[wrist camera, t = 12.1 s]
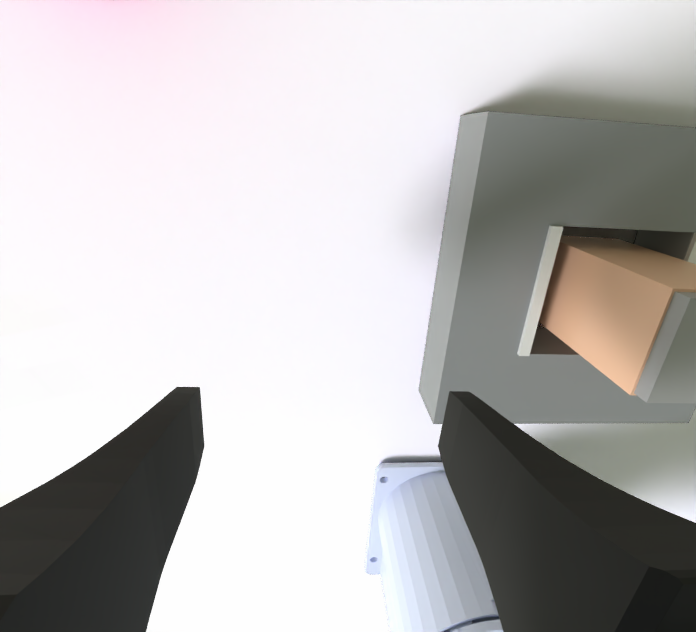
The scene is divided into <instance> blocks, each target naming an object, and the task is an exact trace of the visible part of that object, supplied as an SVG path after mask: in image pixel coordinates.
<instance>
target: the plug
mask: <svg viewBox="0 0 696 632" xmlns="http://www.w3.org/2000/svg"><path fill="white" fill-rule="evenodd" d="M539 323H541V324H542V325H543V326H544V327H545V328H547V329H548V330H549V331H550V332H552V333H553V334H554V335H555V336H557V337H558V338H559V339H560V340H562V341H563V342H564V343H565V344H567V345H568V346H569V347H570V348H572V349H573V350H574V351H575V352H577V353H578V354H579V355H580V356H582V357H583V358H584V359H585V360H587V361H588V362H589V363H590V364H592V365H593V366H594V367H595V368H597V369H598V370H599V371H600V372H602V373H603V374H604V375H605V376H607V377H608V378H609V379H610V380H612V381H613V382H614V383H615V384H617V385H618V386H619V387H620V388H622V389H623V390H624V391H625V392H627V393H628V394H629V395H637V396H638V397H640V398H641V399H642V400H643V401H645V402H646V403H696V264H694V263H691V262H687V261H684V260H681V259H678V258H675V257H672V256H669V255H666V254H663V253H660V252H657V251H654V250H651V249H648V248H645V247H642V246H638V245H635V244H632V243H629V242H626V241H623V240H620V239H617V238H599V237H581V236H563V235H561V239H560V242H559V246H558V250H557V254H556V258H555V261H554V265H553V269H552V273H551V276H550V280H549V284H548V288H547V291H546V295H545V299H544V303H543V306H542V310H541V314H540V318H539Z"/></svg>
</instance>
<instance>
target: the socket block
mask: <svg viewBox="0 0 696 632" xmlns="http://www.w3.org/2000/svg"><path fill="white" fill-rule="evenodd" d="M562 226H571V227H591V228H611V229H632V230H638V233H637V236H636V239H635V242H634V244H635V245H638V246H642V247H645V248H648V249H651V250H654V251H657V252H660V253H663V254H666V255H669V256H672V257H675V258H678V259H681V260H684V261H687V262H691V263H694V264H696V128H694V127H681V126H669V125H656V124H643V123H631V122H618V121H605V120H593V119H580V118H567V117H555V116H542V115H529V114H517V113H504V112H491V111H487V112H480V113H473V114H466V115H461V116H460V123H459V129H458V136H457V143H456V149H455V156H454V162H453V169H452V175H451V182H450V188H449V195H448V201H447V208H446V214H445V221H444V228H443V234H442V241H441V247H440V254H439V260H438V267H437V273H436V280H435V286H434V293H433V300H432V306H431V313H430V319H429V326H428V332H427V339H426V345H425V352H424V358H423V365H422V372H421V378H420V385H419V392H420V394H421V397H422V399H423V401H424V404H425V406H426V408H427V411H428V413H429V415H430V417H431V420H432V422H433V424H443V420H444V415H445V410H446V405H447V400H448V395H449V391H469V392H471V393H472V394H474V395H475V396H477V397H478V398H479V399H481V400H482V401H484V402H485V403H486V404H488V405H489V406H490V407H492V408H493V409H494V410H496V411H497V412H498V413H500V414H501V415H502V416H503V417H505V418H506V419H507V420H509V421H510V422H511V423H513V424H531V423H689V421H690V419H691V417H692V414H693V412H694V410H695V408H696V403H646V402H645V401H643V400H642V399H641V398H640V397H638V396H637V395H629V394H628V393H627V392H625V391H624V390H623V389H622V388H620V387H619V386H618V385H617V384H615V383H614V382H613V381H612V380H610V379H609V378H608V377H607V376H605V375H604V374H603V373H602V372H600V371H599V370H598V369H597V368H595V367H594V366H593V365H592V364H590V363H589V362H588V361H587V360H585V359H584V358H583V357H582V356H580V355H579V354H578V353H577V352H575V351H574V350H573V349H572V348H570V347H569V346H568V345H567V344H565V343H564V342H563V341H562V340H560V339H559V338H558V337H557V336H555V335H554V334H553V333H552V332H550V331H549V330H548V329H547V328H537V325H538V322H539V318H540V314H541V310H542V306H543V303H544V299H545V295H546V291H547V288H548V284H549V280H550V276H551V273H552V269H553V265H554V261H555V258H556V254H557V250H558V246H559V242H560V239H561V235H562V231H563V227H562Z"/></svg>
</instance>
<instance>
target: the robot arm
mask: <svg viewBox="0 0 696 632" xmlns="http://www.w3.org/2000/svg"><path fill="white" fill-rule="evenodd" d="M438 447H439V451H440V455H441V459H442V462H414V463H381V464H379V465H378V466H377V467H376V471H375V479H374V488H373V497H372V505H371V514H370V523H369V531H368V540H367V549H366V557H365V572H366V573H368V574H380V576H381V582H382V588H383V594H384V600H385V607H386V613H387V619H388V625H389V631H390V632H696V523H694V522H692V521H689V520H687V519H684V518H682V517H680V516H677V515H675V514H672V513H670V512H668V511H665V510H663V509H660V508H658V507H656V506H654V505H651V504H649V503H647V502H645V501H643V500H640V499H638V498H636V497H634V496H632V495H630V494H628V493H626V492H624V491H622V490H620V489H618V488H616V487H614V486H612V485H610V484H608V483H606V482H604V481H602V480H600V479H598V478H597V477H595V476H593V475H591V474H590V473H588V472H586V471H584V470H583V469H581V468H579V467H577V466H576V465H574V464H572V463H570V462H569V461H567V460H566V459H564V458H562V457H561V456H559V455H557V454H556V453H554V452H553V451H551V450H550V449H548V448H547V447H545V446H544V445H542V444H541V443H539V442H538V441H536V440H535V439H534V438H532V437H531V436H529V435H528V434H527V433H525V432H524V431H522V430H521V429H520V428H518V427H517V426H516V425H514V424H513V423H511V422H510V421H509V420H507V419H506V418H505V417H503V416H502V415H501V414H500V413H498V412H497V411H496V410H494V409H493V408H492V407H490V406H489V405H488V404H486V403H485V402H484V401H482V400H481V399H479V398H478V397H477V396H475V395H474V394H472V393H471V392H469V391H449V395H448V400H447V405H446V410H445V415H444V420H443V425H442V430H441V435H440V439H439V444H438ZM203 449H204V437H203V424H202V411H201V397H200V387H177V388H175V389H174V390H173V391H172V392H170V393H169V394H168V395H167V396H166V397H164V398H163V399H162V400H161V401H160V402H158V403H157V404H156V405H155V406H154V407H152V408H151V409H150V410H149V411H148V412H146V413H145V414H144V415H143V416H142V417H140V418H139V419H138V420H137V421H135V422H134V423H133V424H132V425H130V426H129V427H128V428H127V429H125V430H124V431H123V432H121V433H120V434H119V435H117V436H116V437H115V438H113V439H112V440H110V441H109V442H108V443H106V444H105V445H104V446H102V447H101V448H100V449H98V450H97V451H96V452H94V453H93V454H91V455H90V456H88V457H87V458H85V459H84V460H82V461H81V462H79V463H78V464H76V465H75V466H73V467H71V468H70V469H68V470H66V471H65V472H63V473H62V474H60V475H58V476H57V477H55V478H53V479H52V480H50V481H48V482H47V483H45V484H43V485H41V486H39V487H38V488H36V489H34V490H32V491H30V492H28V493H26V494H25V495H23V496H21V497H19V498H17V499H15V500H13V501H12V502H10V503H8V504H6V505H4V506H2V507H0V632H146V629H147V625H148V621H149V617H150V613H151V610H152V606H153V602H154V599H155V595H156V591H157V588H158V584H159V580H160V577H161V574H162V571H163V568H164V565H165V562H166V559H167V556H168V553H169V551H170V548H171V545H172V543H173V540H174V537H175V535H176V532H177V530H178V527H179V524H180V522H181V519H182V516H183V514H184V511H185V508H186V506H187V503H188V500H189V498H190V495H191V492H192V490H193V487H194V484H195V481H196V478H197V474H198V470H199V466H200V462H201V458H202V453H203ZM382 477H385V478H382Z"/></svg>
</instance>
